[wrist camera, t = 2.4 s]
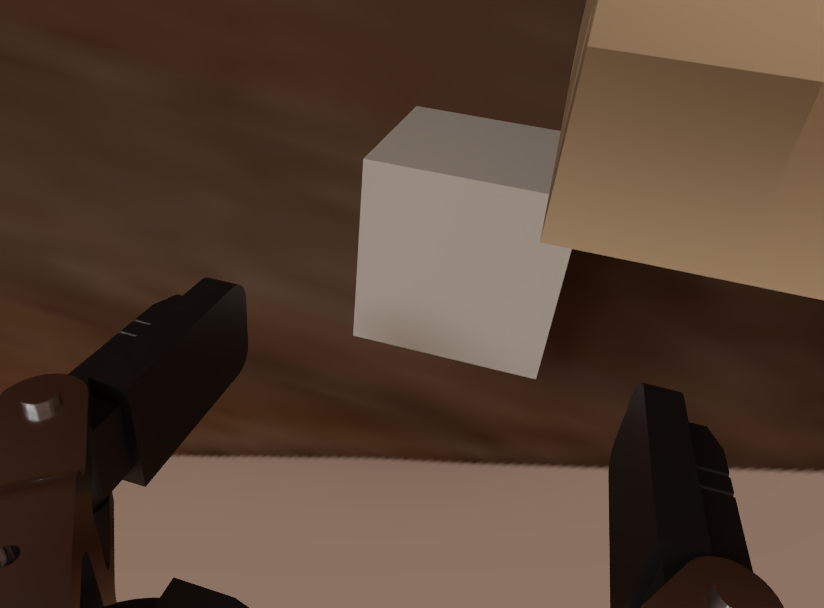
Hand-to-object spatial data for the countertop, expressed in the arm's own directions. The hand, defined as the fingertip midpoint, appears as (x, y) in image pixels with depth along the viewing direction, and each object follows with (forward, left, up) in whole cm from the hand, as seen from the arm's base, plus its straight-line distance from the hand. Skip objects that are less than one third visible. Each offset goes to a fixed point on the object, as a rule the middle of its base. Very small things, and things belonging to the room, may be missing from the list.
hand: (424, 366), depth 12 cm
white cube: (0, 0, -8) cm, 8 cm away
